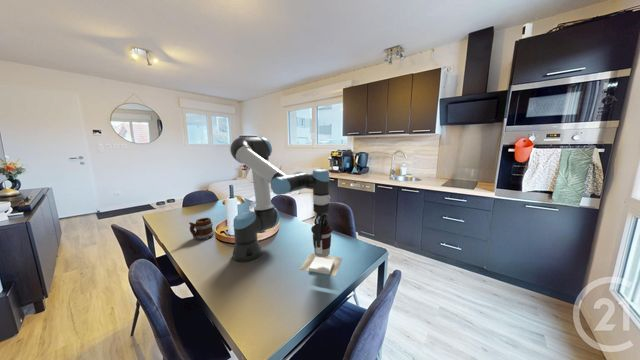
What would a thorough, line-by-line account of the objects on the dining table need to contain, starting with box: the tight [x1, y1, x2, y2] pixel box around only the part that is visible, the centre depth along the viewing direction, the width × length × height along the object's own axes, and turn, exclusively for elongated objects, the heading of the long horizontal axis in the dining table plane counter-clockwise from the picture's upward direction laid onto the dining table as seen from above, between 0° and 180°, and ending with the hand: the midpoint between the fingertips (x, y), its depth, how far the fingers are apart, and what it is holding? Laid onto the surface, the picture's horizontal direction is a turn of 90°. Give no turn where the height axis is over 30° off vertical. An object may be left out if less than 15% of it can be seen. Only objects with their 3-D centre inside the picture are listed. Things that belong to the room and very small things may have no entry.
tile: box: [308, 257, 334, 276], centre depth 106 cm, size 10×2×10 cm
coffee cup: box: [311, 222, 333, 257], centre depth 104 cm, size 10×10×15 cm
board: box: [299, 253, 343, 277], centre depth 110 cm, size 18×16×1 cm
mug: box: [188, 217, 215, 241], centre depth 143 cm, size 12×14×15 cm
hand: (322, 248), depth 105 cm, fingers closed on coffee cup, 9 cm apart
